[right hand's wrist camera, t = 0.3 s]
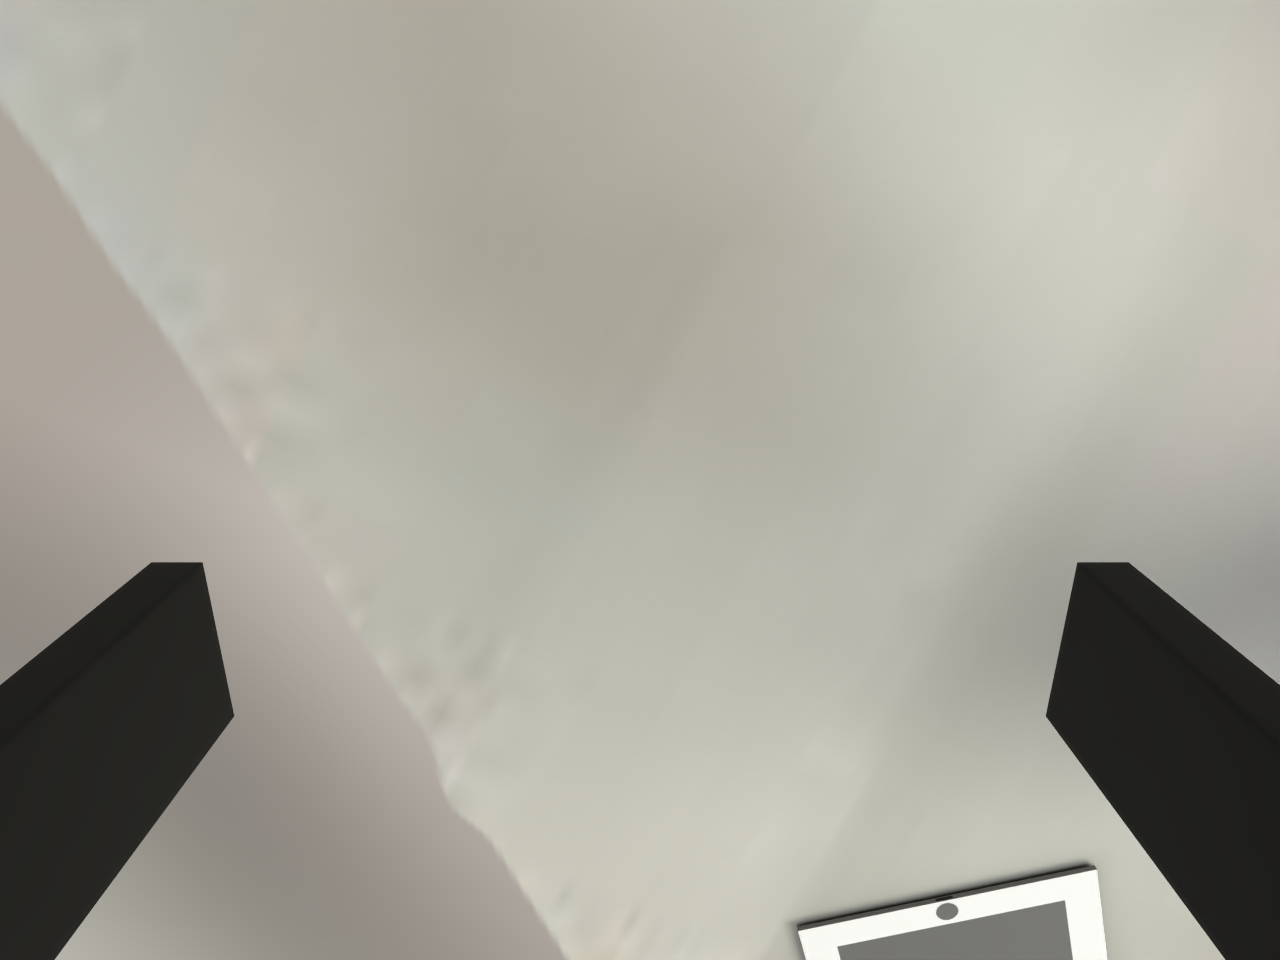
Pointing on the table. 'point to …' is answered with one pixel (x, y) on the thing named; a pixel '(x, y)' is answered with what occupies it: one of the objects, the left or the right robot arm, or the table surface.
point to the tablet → (975, 925)
